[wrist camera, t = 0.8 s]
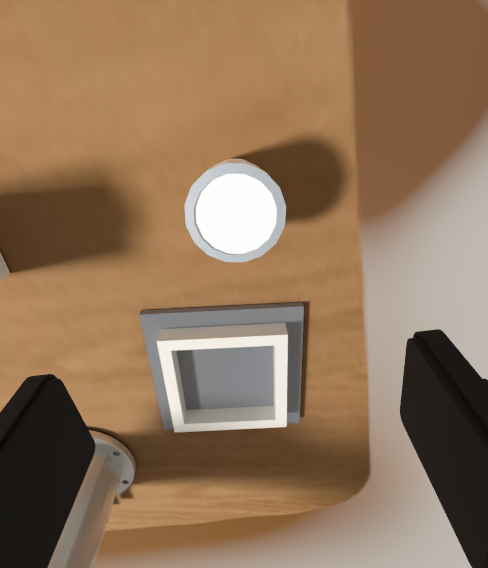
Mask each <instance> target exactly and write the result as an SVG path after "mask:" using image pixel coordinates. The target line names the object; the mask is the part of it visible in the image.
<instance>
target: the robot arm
mask: <svg viewBox="0 0 488 568" xmlns="http://www.w3.org/2000/svg"><path fill="white" fill-rule="evenodd" d="M400 415H401V419H402V423H403V425H404V427H405V429H406V432H407V434H408V436H409V438H410V440H411V442H412V444H413V446H414V448H415V450H416V452H417V454H418V457H419V459H420V461H421V463H422V465H423V467H424V469H425V471H426V473H427V475H428V477H429V480H430V482H431V484H432V486H433V488H434V490H435V492H436V494H437V496H438V498H439V500H440V502H441V504H442V507H443V509H444V511H445V513H446V515H447V517H448V519H449V521H450V523H451V525H452V528H453V530H454V532H455V534H456V536H457V538H458V540H459V542H460V544H461V546H462V548H463V551H464V553H465V555H466V557H467V559H468V561H469V563H470V565H471V566H472V568H488V380H487V379H482V378H481V377H480V376H479V375H478V373H477V372H476V371H475V370H474V368H473V367H472V366H471V365H470V364H469V362H468V361H467V360H466V359H465V358H464V357H463V355H462V354H461V353H460V351H459V350H458V349H457V348H456V347H455V345H454V344H453V343H452V342H451V341H450V340H449V338H448V337H447V336H446V335H445V333H444V332H443V331H441V330H439V329H438V330H430V331H420V332H416V333H415V334H414V336H413V338H410V339H408V341H407V346H406V356H405V366H404V376H403V386H402V397H401V405H400ZM135 471H136V463H135V460H134V457H133V456H132V454H131V452H130V451H129V450H128V449H127V448H126V447H125V446H124V445H123V444H122V443H120V442H119V441H118V440H116V439H114V438H112V437H111V436H108V435H106V434H103V433H101V432H96V431H92V430H88V428H87V426H86V424H85V423H84V421H83V419H82V417H81V415H80V413H79V412H78V410H77V408H76V406H75V404H74V402H73V400H72V399H71V397H70V395H69V393H68V391H67V389H66V388H65V386H64V384H63V382H62V381H61V380H60V379H57V378H56V377H55V376H54V375H52V374H47V375H38V376H30V377H28V378H27V379H26V380H25V381H24V382H23V383H22V385H21V386H20V387H19V389H18V390H17V391H16V393H15V394H14V395H13V397H12V398H11V399H10V401H9V402H8V403H7V405H6V406H5V407H4V409H3V410H2V411H1V412H0V568H93V566H94V563H95V560H96V556H97V553H98V550H99V547H100V544H101V541H102V537H103V533H104V531H105V528H106V524H107V523H108V519H109V515H110V511H111V508H112V505H113V502H114V499H115V496H116V495H118V494H120V493H122V492H123V491H125V490H126V489H127V488H128V487H129V486H130V485H131V483H132V481H133V479H134V475H135Z"/></svg>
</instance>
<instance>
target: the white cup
mask: <svg viewBox="0 0 488 568" xmlns="http://www.w3.org/2000/svg"><path fill="white" fill-rule="evenodd" d="M285 218H286V204H285V201H284V198H283V195H282V193H281V190H280V187H279V186H278V185H277V184H276V183H275V182H274V181H273V180H272V178H271V177H270V176H269V175H268V174H267V173H266V172H265V171H263V170H262V169H261V168H259V167H258V166H256V165H255V164H253V163H250V162H248V161H246V160H244V159H227V160H225V161H222V162H220V163H218V164H216V165H214V166H213V167H211V168H210V169H208V170H207V171H206V172H205V173H204V174H203V175H202V176H201V177H200V178H199V179H198V180H197V181H196V182H195V183H194V184H193V185H192V186H191V189H190V192H189V195H188V197H187V200H186V203H185V221H186V227H187V229H188V231H189V233H190V235H191V237H192V239H193V241H194V243H195V244H197V245H198V246H199V247H200V248H201V249H202V250H203V251H204V252H205V253H206V254H208V255H209V256H212V257H214V258H217V259H219V260H222V261H225V262H246V261H249V260H252V259H255V258H257V257H260V256H262V255H264V254H265V253H266V252H267V251H268V250H269V249H270V248H271V247H273V246H274V245H275V244H276V243H277V241H278V239H279V237H280V235H281V233H282V231H283V229H284V227H285Z"/></svg>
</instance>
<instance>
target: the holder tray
mask: <svg viewBox="0 0 488 568" xmlns="http://www.w3.org/2000/svg"><path fill="white" fill-rule="evenodd" d="M139 316H140V321H141V325H142V330H143V334H144V339H145V344H146V348H147V353H148V357H149V362H150V367H151V371H152V376H153V381H154V385H155V390H156V394H157V399H158V404H159V408H160V413H161V418H162V422H163V427H164V430H168V429H174V432H195V431H215V430H235V429H255V428H275V427H287V424H288V423H300V397H301V371H302V344H303V318H304V305H303V302H297V303H277V304H257V305H237V306H218V307H198V308H178V309H158V310H141V312H140V314H139Z"/></svg>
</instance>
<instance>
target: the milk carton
mask: <svg viewBox="0 0 488 568" xmlns="http://www.w3.org/2000/svg"><path fill="white" fill-rule="evenodd" d="M8 275H9V270H8V267H7V265H6V263H5V261H4V259H3V257H2V254H1V252H0V281H1V280H2V279H4V278H5V277H7V276H8Z"/></svg>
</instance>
